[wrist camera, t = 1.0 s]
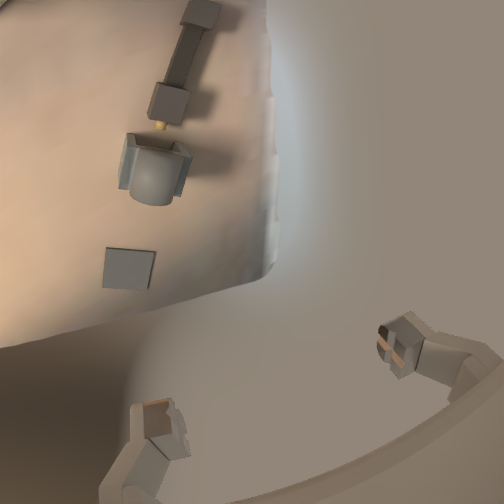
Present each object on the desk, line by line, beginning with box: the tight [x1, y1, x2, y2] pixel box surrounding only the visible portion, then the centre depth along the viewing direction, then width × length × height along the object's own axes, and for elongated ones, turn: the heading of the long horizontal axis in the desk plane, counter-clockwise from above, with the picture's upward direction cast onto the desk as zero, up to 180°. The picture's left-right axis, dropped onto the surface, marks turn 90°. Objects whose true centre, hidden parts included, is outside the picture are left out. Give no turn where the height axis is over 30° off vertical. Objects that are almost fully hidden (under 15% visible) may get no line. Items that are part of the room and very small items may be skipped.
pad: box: [103, 248, 154, 290], centre depth 55 cm, size 9×9×1 cm
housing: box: [118, 133, 192, 206], centre depth 40 cm, size 6×9×12 cm, turn 68°
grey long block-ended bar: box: [147, 0, 222, 130], centre depth 36 cm, size 20×4×4 cm, turn 158°
